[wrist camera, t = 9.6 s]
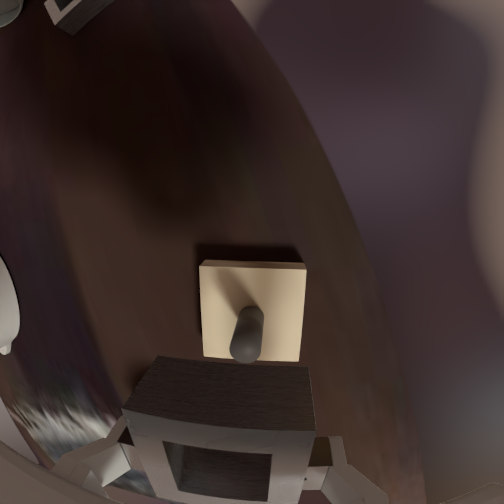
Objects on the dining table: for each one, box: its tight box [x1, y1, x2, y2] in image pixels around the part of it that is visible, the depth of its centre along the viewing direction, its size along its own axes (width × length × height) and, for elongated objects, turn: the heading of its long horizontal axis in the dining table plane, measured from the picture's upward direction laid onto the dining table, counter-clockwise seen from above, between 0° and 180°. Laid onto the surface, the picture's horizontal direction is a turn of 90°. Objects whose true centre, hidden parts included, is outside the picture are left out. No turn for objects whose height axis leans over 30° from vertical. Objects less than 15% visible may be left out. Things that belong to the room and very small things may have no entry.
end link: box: [121, 355, 316, 504], centre depth 10 cm, size 6×6×4 cm
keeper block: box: [199, 260, 306, 363], centre depth 21 cm, size 8×8×7 cm
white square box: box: [44, 0, 114, 36], centre depth 17 cm, size 6×6×4 cm
